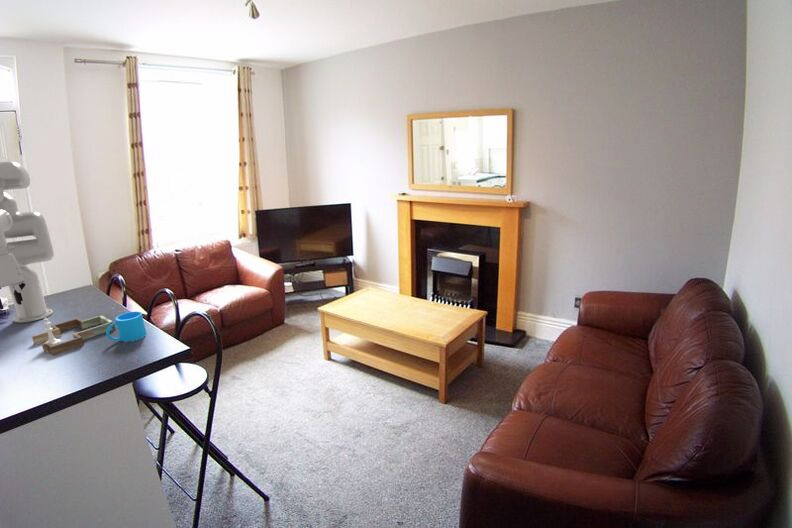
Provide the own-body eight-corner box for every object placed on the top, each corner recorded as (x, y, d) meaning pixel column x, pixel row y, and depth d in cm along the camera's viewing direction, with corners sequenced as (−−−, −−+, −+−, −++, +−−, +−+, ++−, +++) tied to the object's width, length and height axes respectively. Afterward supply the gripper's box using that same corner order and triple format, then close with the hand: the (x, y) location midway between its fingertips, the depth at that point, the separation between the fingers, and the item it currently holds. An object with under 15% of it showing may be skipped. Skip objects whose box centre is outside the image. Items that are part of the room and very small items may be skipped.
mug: (141, 330, 164) (137, 309, 162) (149, 336, 159) (145, 315, 156) (105, 341, 156) (99, 320, 153) (112, 348, 150) (107, 326, 148)
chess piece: (52, 347, 153) (44, 321, 150) (40, 346, 154) (32, 320, 151) (65, 341, 157) (57, 315, 154) (53, 340, 158) (46, 314, 155)
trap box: (29, 340, 159) (27, 332, 158) (97, 319, 176) (96, 312, 175) (49, 356, 146) (47, 348, 145) (121, 332, 163) (119, 324, 162)
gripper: (23, 245, 148) (37, 296, 153) (-45, 257, 135) (-27, 312, 140) (29, 247, 143) (44, 300, 149) (-40, 260, 131) (-21, 317, 136)
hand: (10, 305), depth 144 cm, fingers open, 4 cm apart
